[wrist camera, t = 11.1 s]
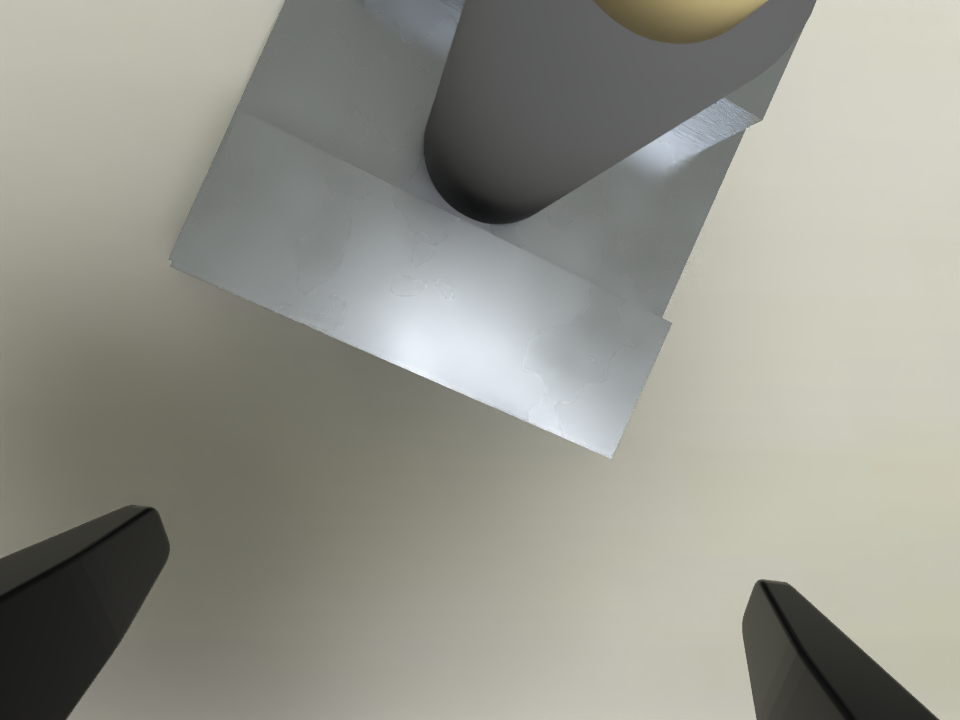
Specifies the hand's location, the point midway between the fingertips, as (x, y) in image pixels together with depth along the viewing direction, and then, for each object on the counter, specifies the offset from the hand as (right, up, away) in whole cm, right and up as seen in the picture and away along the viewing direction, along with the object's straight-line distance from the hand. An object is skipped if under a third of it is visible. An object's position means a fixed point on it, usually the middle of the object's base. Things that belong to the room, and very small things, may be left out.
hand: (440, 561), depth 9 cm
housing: (+1, +9, +10) cm, 14 cm away
